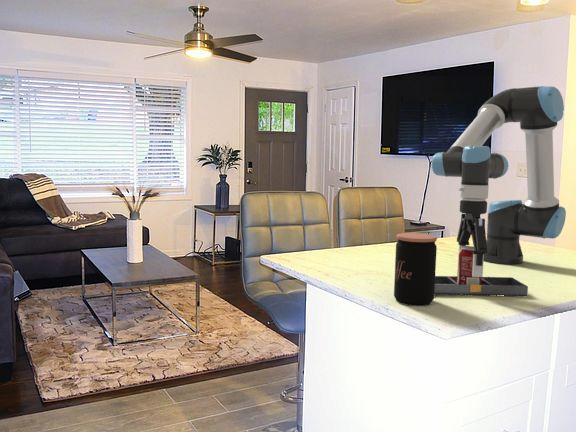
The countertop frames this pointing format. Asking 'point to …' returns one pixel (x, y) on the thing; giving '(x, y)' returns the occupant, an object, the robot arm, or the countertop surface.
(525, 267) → the countertop surface
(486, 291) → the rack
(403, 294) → the coffee jar
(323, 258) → the countertop surface
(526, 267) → the countertop surface
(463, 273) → the soda can
